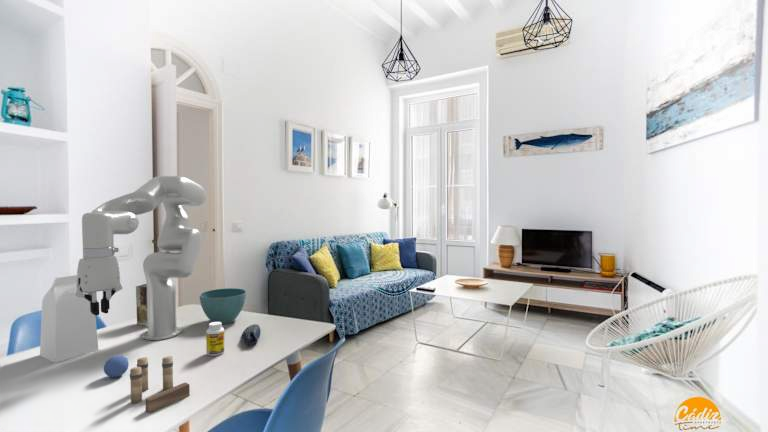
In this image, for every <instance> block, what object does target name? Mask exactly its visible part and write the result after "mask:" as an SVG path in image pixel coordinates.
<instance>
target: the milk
mask: <svg viewBox="0 0 768 432" xmlns="http://www.w3.org/2000/svg"><path fill="white" fill-rule="evenodd" d="M76 279H77V274H71V275H64V276H63V275H62V276H57V277H55V279H54V281H53V282H52V285H51V287H50V288H49V289H48V291H46V293H45V295H44V296H43V298H42V300H41V301H42V302H41V317H40V318H41V322H40V323H41V324H40V342H39V343H40V345H39V356H41V357H43V358H45V359H46V360H49V361H51V362H53V363H58V362H63V361H65V360H69V359H73V358H76V357H79V356H83V355H86V354H89V353H92V352H96V351H99V341H98V330H97V329H98V328H97V320H96V318H97V317H96V315H93V314H92V313H91V311H90V301H88V300H87V299H85V298H80V297H76V296H75V293H76V291H77V288H76ZM83 293H84V292H83ZM84 294H88V293H84Z"/></svg>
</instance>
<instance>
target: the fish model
mask: <svg viewBox="0 0 768 432" xmlns="http://www.w3.org/2000/svg"><path fill="white" fill-rule="evenodd" d="M241 337H242V338H243V340H244V342H245V344H247V346H252V345H254V344H256V343H257V342H258V341H259V339H260V337H261V328H260V325H259V324H250V325H249V326H247V327H245V329H244V330H243V331H242V333H241Z"/></svg>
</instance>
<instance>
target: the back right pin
mask: <svg viewBox="0 0 768 432" xmlns="http://www.w3.org/2000/svg"><path fill="white" fill-rule="evenodd" d="M129 371H130V373H129V379H130V403H132V405H135V404H136V405H137V404H140V403H141V402H142V401H143V392H142V371H141V367H137V366H135V367H132V368H131V369H130V370H129Z"/></svg>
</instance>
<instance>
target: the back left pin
mask: <svg viewBox="0 0 768 432" xmlns="http://www.w3.org/2000/svg"><path fill="white" fill-rule="evenodd" d="M161 360H162V362H161V368H162V391H165V390H168V389H170V388H173V387H174V370H173V369H174V368H173V367H174V361H173V356H165V357H162V359H161Z"/></svg>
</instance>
